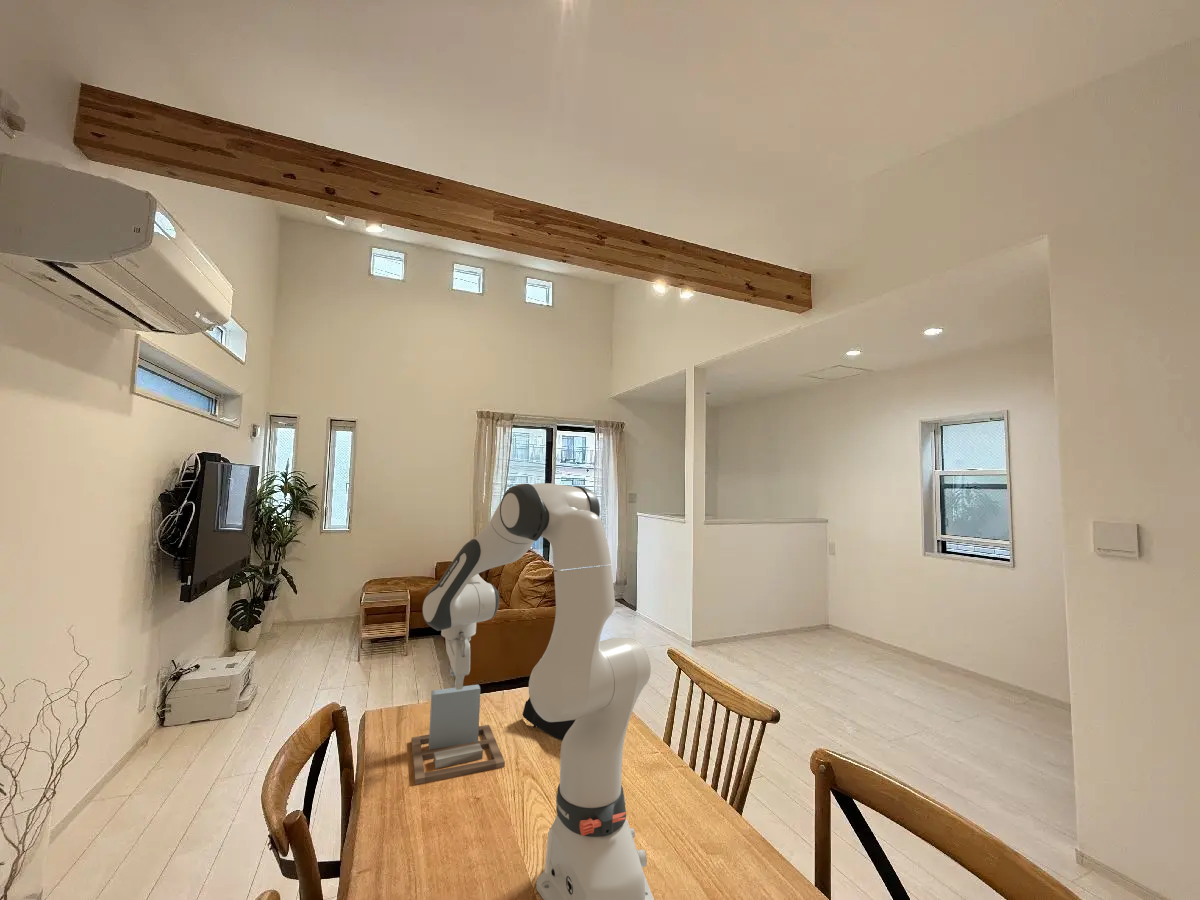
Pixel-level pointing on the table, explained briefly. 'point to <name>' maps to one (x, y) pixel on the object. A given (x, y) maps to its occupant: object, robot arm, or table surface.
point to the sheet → (454, 716)
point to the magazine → (546, 722)
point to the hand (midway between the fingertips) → (456, 681)
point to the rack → (459, 770)
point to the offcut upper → (458, 755)
